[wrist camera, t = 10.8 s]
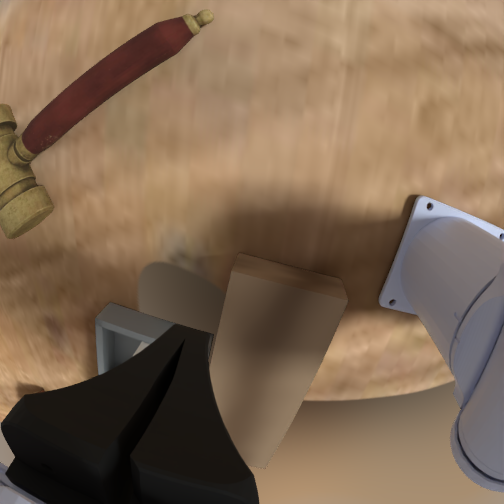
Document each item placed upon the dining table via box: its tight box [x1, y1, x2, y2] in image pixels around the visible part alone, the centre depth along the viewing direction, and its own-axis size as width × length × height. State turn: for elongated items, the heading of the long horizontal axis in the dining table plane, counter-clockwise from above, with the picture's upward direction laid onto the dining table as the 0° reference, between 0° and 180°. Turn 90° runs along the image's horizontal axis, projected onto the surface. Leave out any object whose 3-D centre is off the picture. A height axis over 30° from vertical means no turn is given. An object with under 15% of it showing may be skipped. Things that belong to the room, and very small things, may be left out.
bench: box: [209, 253, 349, 469], centre depth 23 cm, size 7×19×3 cm, turn 167°
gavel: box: [0, 10, 214, 239], centre depth 17 cm, size 21×5×10 cm
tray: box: [95, 302, 214, 375], centre depth 25 cm, size 9×13×2 cm, turn 167°
